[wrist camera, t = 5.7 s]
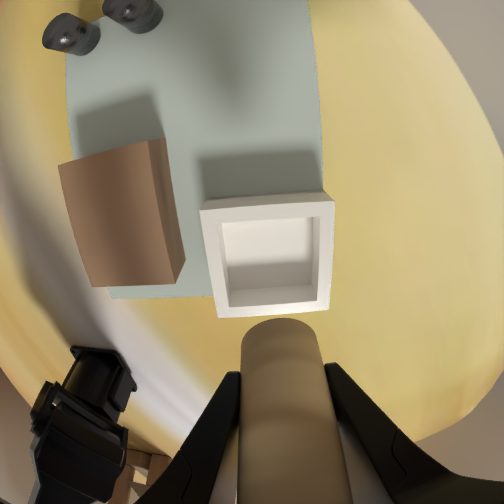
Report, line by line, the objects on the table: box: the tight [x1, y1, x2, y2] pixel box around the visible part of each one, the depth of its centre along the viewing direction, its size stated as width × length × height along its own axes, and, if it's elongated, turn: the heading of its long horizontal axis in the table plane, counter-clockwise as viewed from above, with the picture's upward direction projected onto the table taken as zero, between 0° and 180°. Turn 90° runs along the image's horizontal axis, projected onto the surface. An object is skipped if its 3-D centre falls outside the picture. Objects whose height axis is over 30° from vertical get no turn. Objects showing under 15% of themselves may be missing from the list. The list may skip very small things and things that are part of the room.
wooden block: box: [108, 449, 172, 504], centre depth 29 cm, size 4×11×18 cm, turn 93°
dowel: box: [237, 318, 353, 504], centre depth 6 cm, size 3×3×8 cm
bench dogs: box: [42, 0, 163, 56], centre depth 9 cm, size 7×2×4 cm, turn 95°
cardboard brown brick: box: [58, 138, 186, 287], centre depth 15 cm, size 6×8×3 cm
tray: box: [199, 190, 335, 318], centre depth 16 cm, size 7×7×2 cm
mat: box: [66, 0, 323, 299], centre depth 15 cm, size 16×21×1 cm
